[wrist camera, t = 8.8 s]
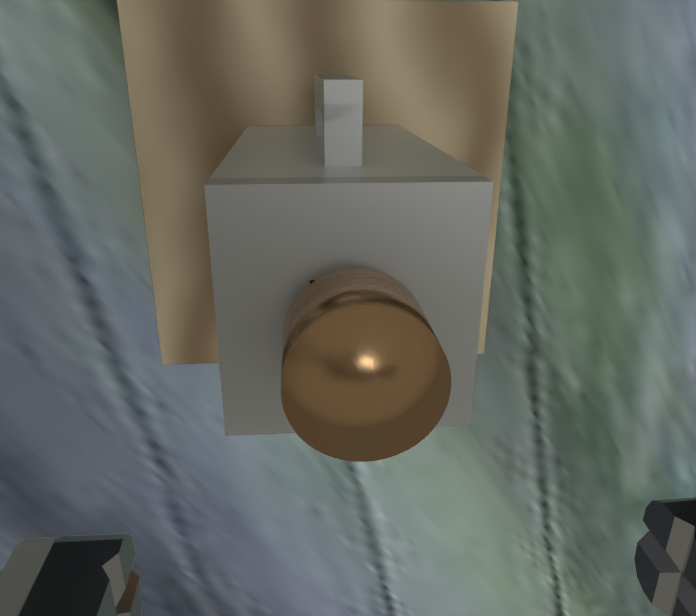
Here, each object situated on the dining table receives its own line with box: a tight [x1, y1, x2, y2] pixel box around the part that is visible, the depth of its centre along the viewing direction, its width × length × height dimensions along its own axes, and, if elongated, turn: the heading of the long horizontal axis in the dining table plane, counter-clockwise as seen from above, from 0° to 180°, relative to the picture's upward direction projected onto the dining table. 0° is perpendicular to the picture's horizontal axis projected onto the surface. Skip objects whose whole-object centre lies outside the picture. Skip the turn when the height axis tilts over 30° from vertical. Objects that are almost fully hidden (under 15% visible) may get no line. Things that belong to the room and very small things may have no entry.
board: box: [117, 0, 518, 365], centre depth 35 cm, size 20×20×2 cm
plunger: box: [281, 268, 451, 461], centre depth 24 cm, size 6×6×20 cm
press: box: [204, 74, 493, 436], centre depth 26 cm, size 8×11×17 cm
